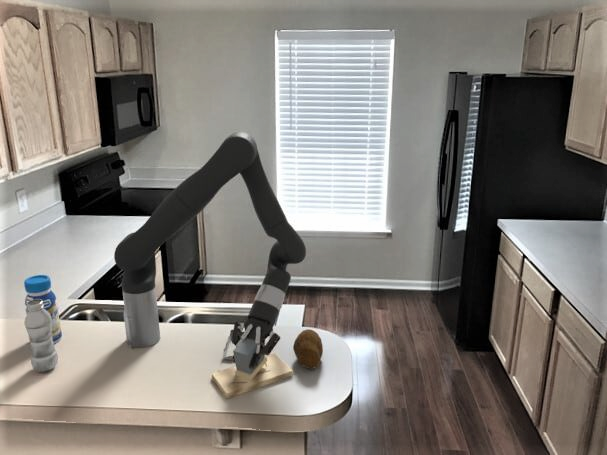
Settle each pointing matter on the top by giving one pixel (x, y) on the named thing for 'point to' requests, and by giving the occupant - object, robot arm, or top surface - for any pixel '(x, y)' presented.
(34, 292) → the beverage bottle
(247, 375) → the sanding block
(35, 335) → the plastic bottle
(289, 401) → the top surface
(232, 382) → the pine board
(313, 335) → the potato
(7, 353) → the top surface
